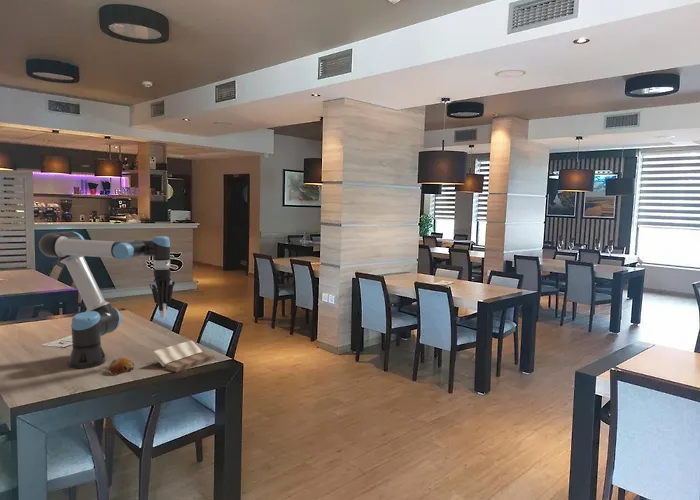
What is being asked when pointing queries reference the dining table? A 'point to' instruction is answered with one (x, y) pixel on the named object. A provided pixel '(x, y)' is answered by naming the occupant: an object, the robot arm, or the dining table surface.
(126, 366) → the bread roll
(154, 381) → the dining table surface
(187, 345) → the cream corrugated panel
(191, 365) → the walnut plank
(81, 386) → the dining table surface
